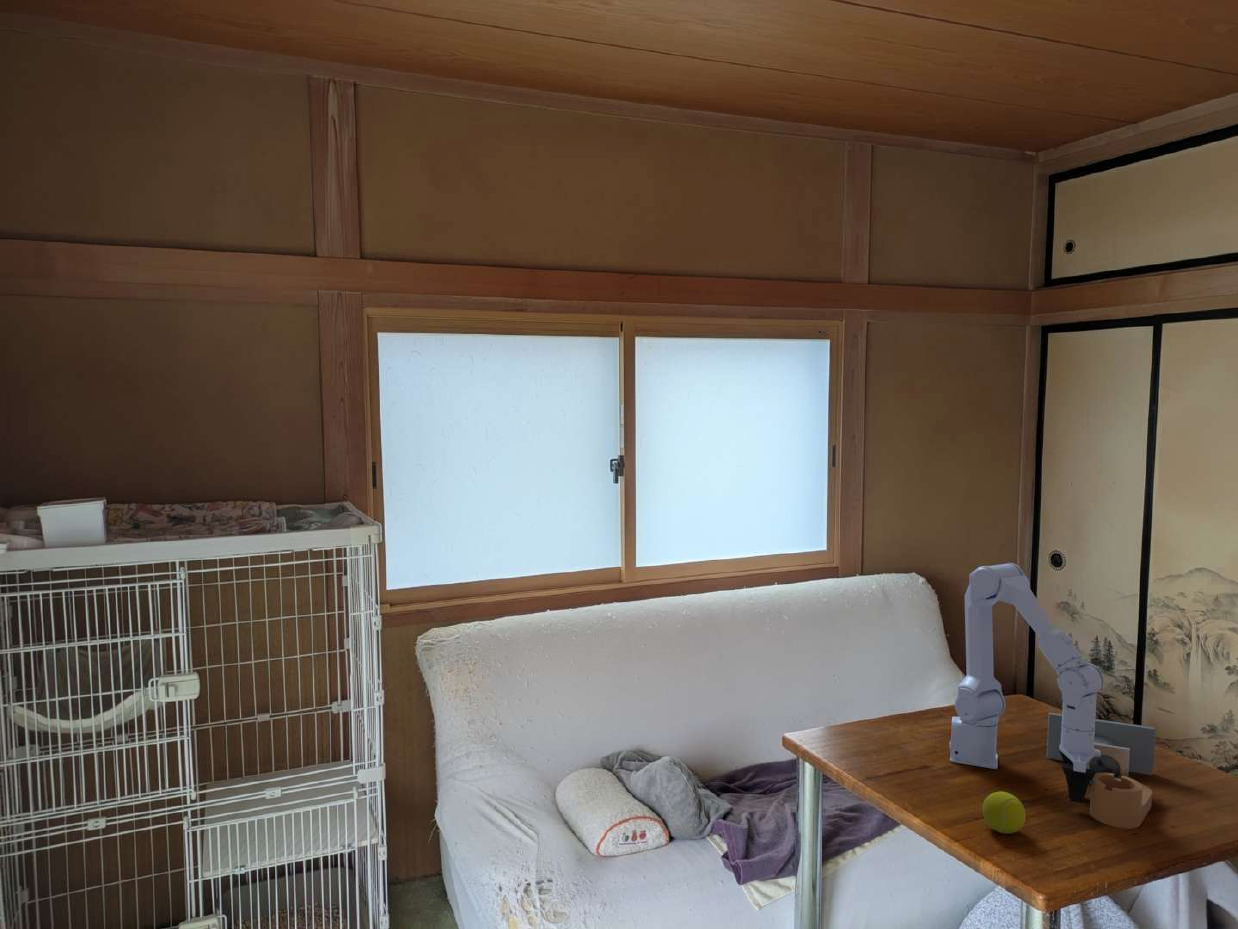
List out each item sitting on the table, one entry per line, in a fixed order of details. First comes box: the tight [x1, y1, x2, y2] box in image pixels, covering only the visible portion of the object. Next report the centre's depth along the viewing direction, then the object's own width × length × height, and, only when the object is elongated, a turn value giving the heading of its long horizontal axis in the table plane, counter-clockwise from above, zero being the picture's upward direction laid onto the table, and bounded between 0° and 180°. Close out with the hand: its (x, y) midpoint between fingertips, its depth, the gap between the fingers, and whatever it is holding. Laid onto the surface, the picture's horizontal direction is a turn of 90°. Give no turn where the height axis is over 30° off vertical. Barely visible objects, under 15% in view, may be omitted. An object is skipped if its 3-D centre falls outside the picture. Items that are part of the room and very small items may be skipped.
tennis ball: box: [981, 791, 1027, 835], centre depth 155 cm, size 7×7×7 cm
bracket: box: [1089, 773, 1153, 830], centre depth 164 cm, size 18×8×7 cm, turn 138°
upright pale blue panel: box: [1046, 712, 1156, 785], centre depth 179 cm, size 20×12×10 cm, turn 66°
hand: (1074, 793), depth 167 cm, fingers open, 7 cm apart
